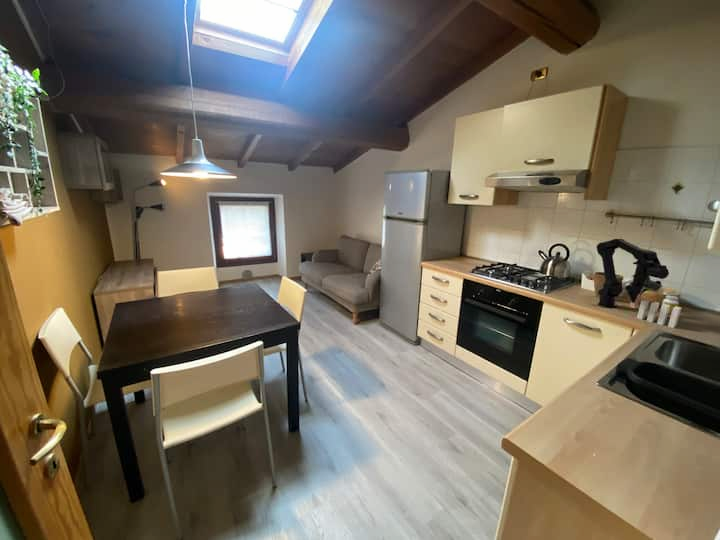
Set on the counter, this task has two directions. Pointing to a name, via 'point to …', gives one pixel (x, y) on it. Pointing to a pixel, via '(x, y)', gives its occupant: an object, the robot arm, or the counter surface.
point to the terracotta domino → (635, 304)
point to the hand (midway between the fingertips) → (634, 301)
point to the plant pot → (602, 281)
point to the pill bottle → (670, 303)
